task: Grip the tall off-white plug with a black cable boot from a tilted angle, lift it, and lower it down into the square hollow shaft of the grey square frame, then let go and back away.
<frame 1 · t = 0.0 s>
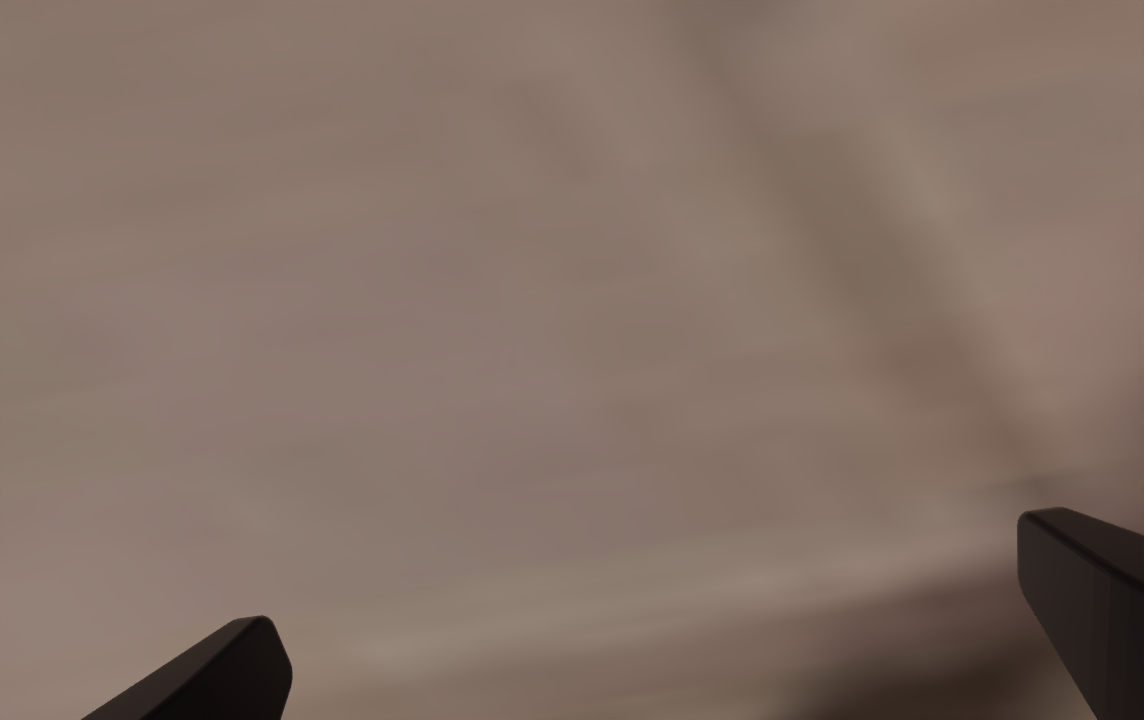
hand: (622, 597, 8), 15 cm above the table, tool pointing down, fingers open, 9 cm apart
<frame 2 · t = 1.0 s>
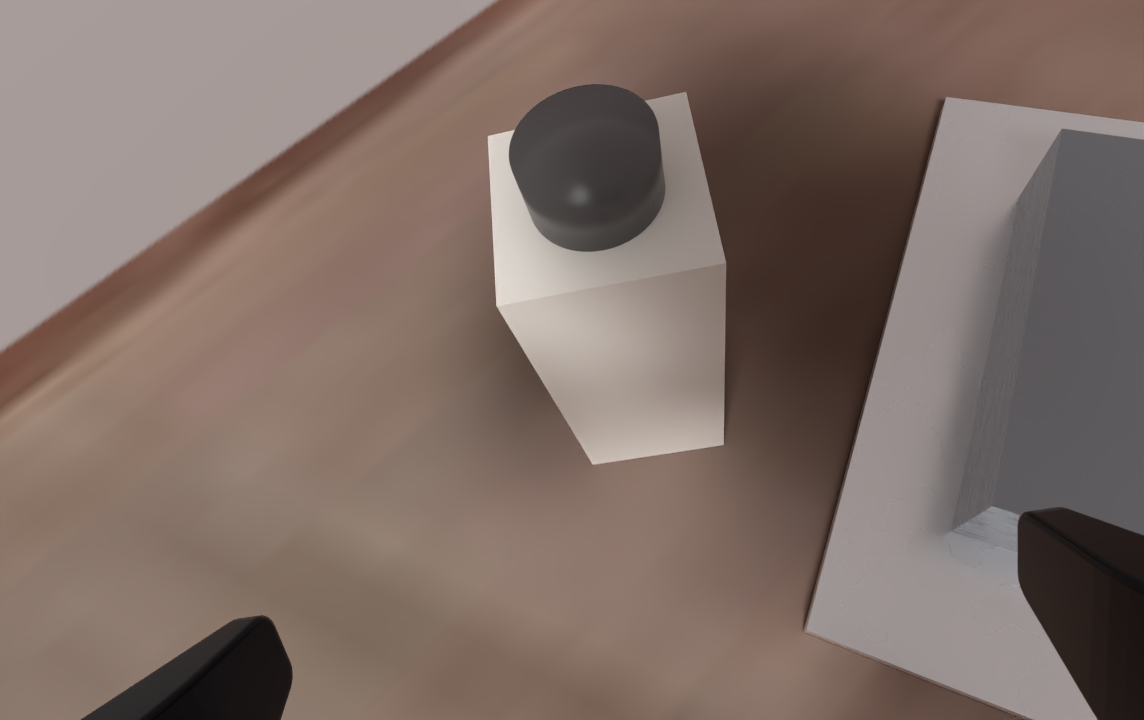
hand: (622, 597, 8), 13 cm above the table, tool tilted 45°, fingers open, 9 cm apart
plug: (648, 394, 23), on the table
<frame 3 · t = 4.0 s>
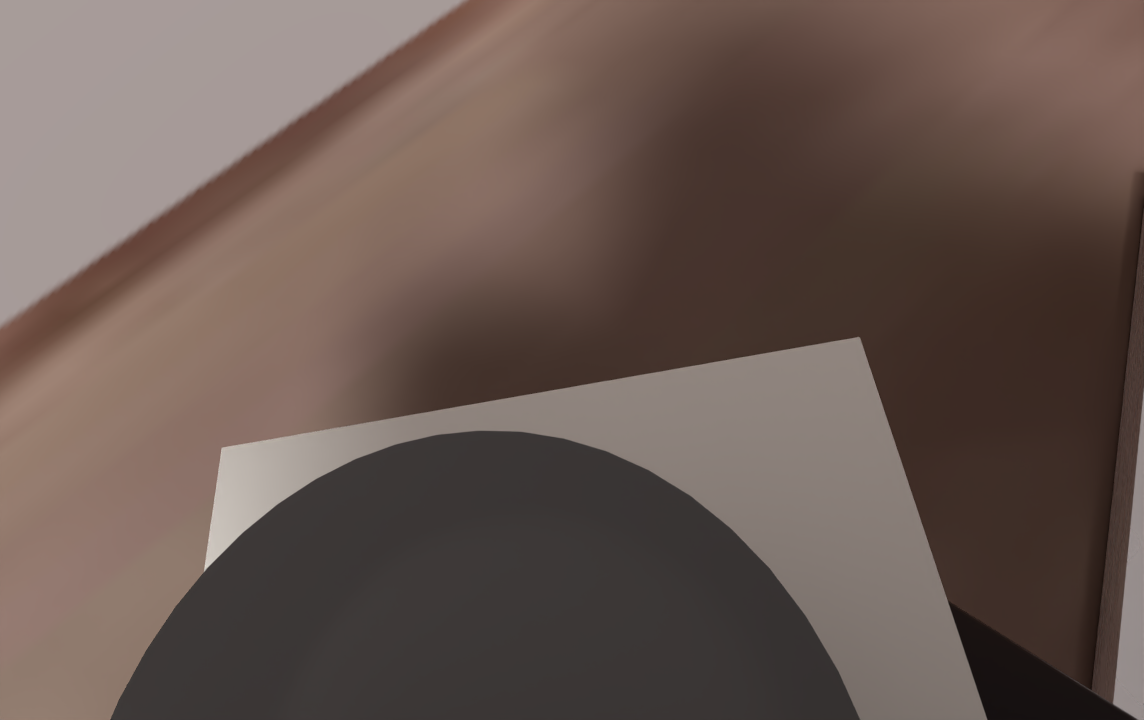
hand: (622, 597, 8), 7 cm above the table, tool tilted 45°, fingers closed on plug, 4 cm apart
plug: (675, 708, 13), on the table, touching gripper
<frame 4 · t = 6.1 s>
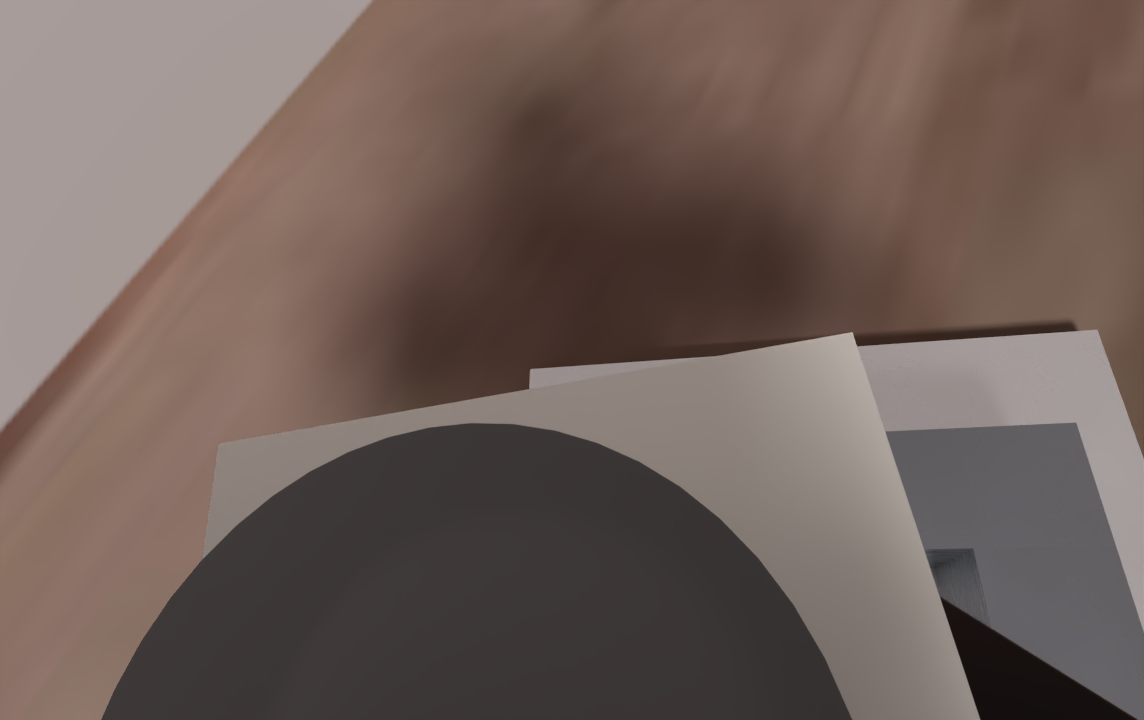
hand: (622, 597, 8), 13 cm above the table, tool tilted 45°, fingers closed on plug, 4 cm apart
plug: (673, 706, 13), point 7 cm above the table, touching gripper
grey square frame: (834, 685, 19), on the table
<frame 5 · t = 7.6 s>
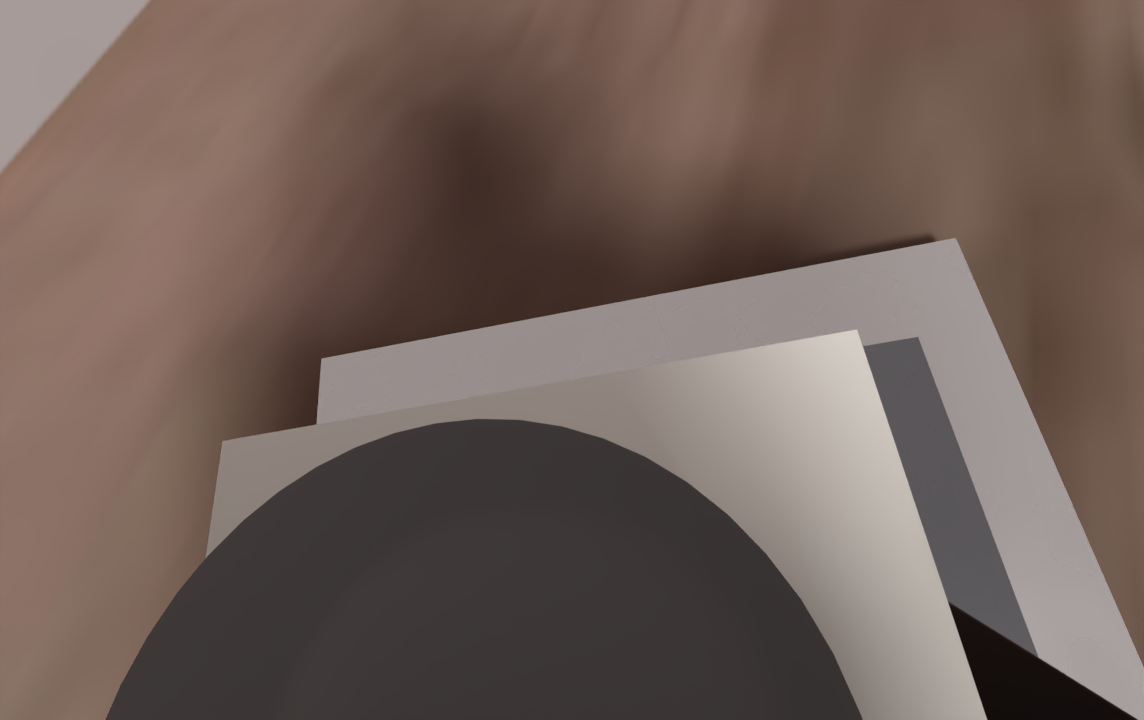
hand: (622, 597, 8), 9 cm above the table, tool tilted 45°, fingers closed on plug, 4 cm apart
plug: (675, 705, 13), point 2 cm above the table, touching gripper
grey square frame: (680, 698, 15), on the table
when the fingers open (8 cm above the table, at t = 8.7 s): plug stays where it is, resting on grey square frame.
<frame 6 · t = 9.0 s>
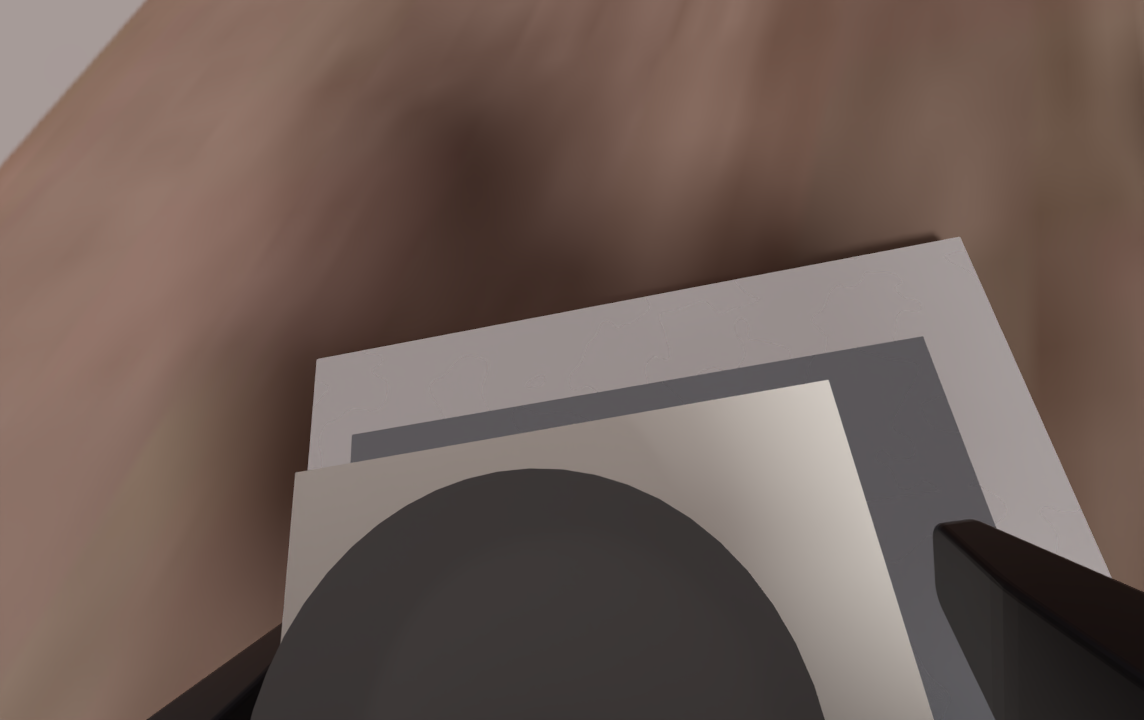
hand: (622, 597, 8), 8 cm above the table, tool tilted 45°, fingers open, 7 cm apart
plug: (677, 703, 14), point 1 cm above the table, touching grey square frame
grey square frame: (680, 705, 15), on the table
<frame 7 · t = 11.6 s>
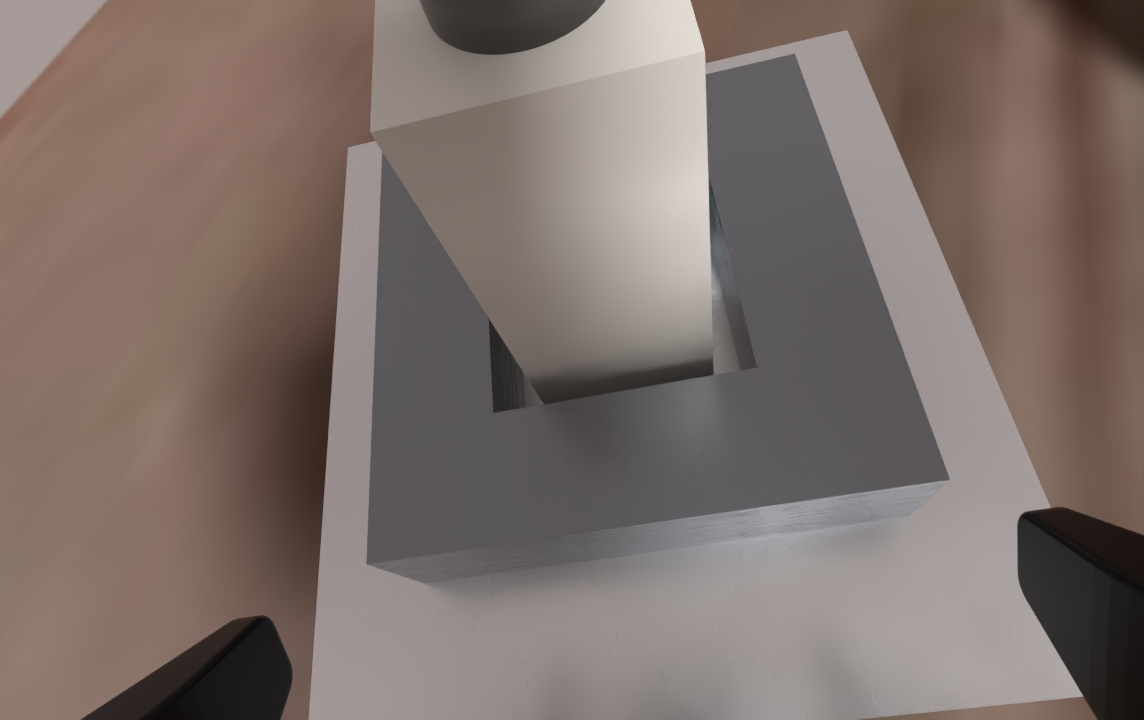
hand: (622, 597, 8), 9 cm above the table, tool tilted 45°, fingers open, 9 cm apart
plug: (621, 336, 19), point 1 cm above the table, touching grey square frame
grey square frame: (626, 350, 20), on the table
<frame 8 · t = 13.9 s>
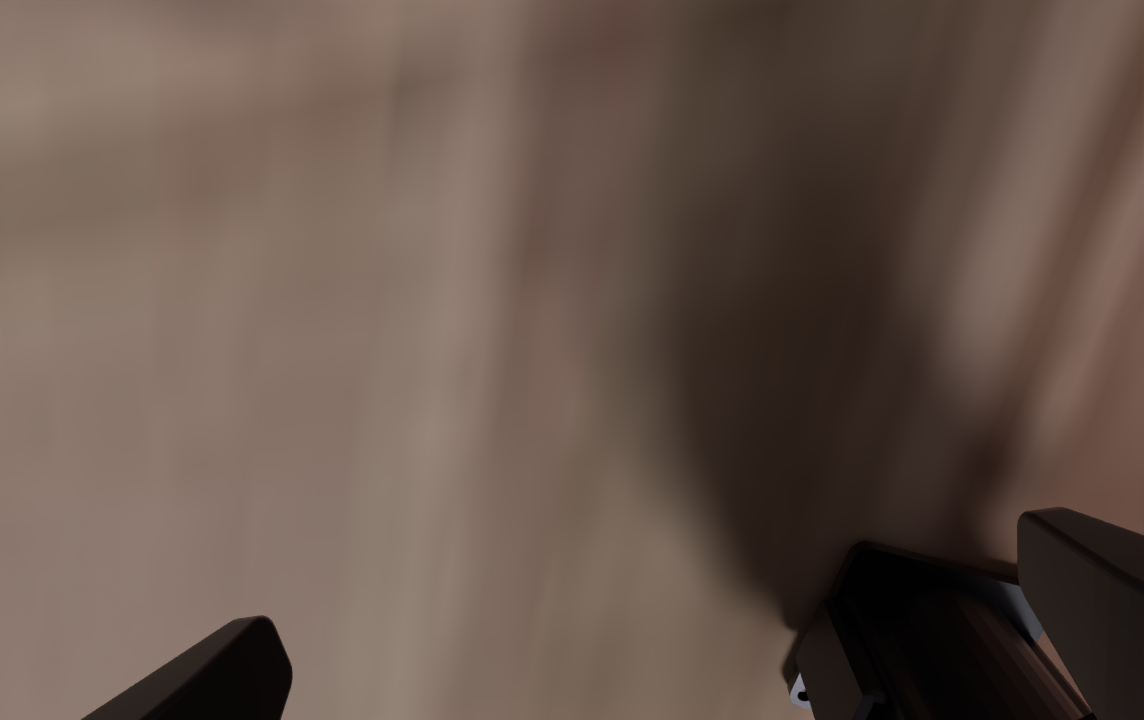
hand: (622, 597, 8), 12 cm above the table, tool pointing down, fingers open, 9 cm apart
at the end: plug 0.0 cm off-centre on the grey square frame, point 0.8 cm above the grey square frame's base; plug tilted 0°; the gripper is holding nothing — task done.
